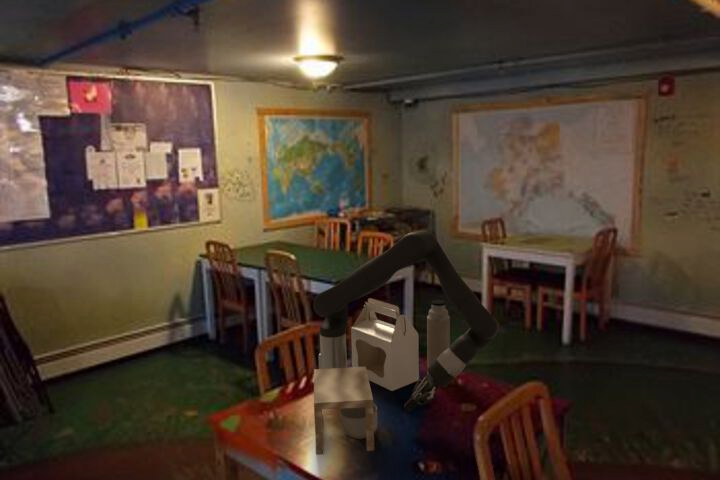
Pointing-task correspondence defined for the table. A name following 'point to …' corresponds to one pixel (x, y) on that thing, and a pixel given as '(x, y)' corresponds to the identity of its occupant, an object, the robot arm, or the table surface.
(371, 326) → the gable box
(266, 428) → the table surface
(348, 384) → the miniature side table
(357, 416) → the teacup
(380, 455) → the table surface
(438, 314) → the thermos bottle
